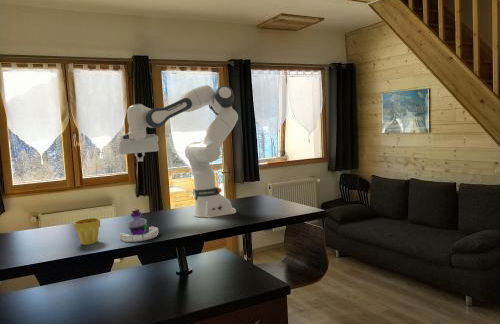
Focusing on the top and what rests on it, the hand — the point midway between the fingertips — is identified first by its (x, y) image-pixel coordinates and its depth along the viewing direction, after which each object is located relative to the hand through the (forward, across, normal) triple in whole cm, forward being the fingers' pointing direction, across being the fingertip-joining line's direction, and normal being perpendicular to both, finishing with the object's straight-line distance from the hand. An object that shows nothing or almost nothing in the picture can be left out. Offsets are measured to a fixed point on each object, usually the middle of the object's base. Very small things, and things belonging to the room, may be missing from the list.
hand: (140, 161), depth 213 cm
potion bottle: (+31, +4, +36) cm, 48 cm away
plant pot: (+31, +24, +36) cm, 53 cm away
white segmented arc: (+31, +2, +39) cm, 50 cm away
